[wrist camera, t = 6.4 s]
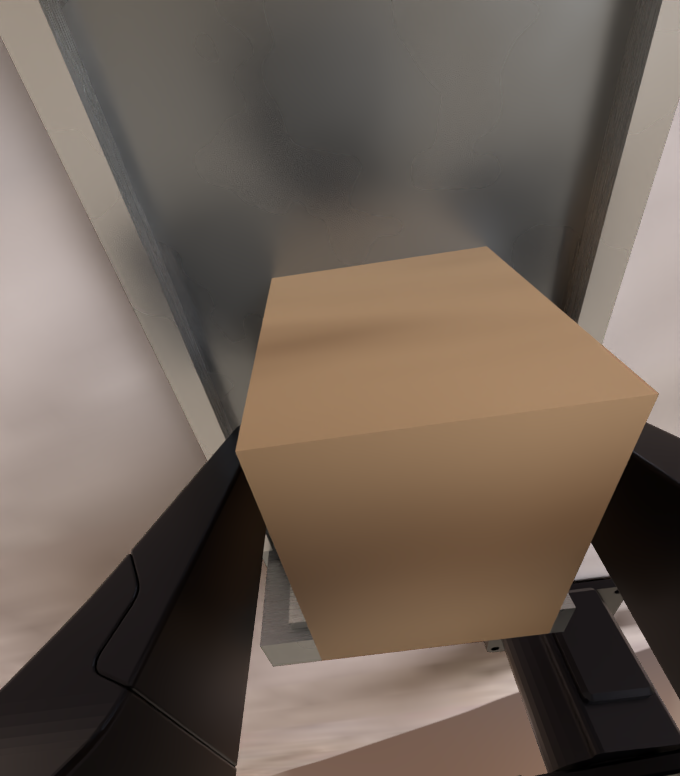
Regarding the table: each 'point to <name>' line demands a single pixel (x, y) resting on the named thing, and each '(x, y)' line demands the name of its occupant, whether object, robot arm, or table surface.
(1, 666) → the table surface
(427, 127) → the base
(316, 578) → the block
